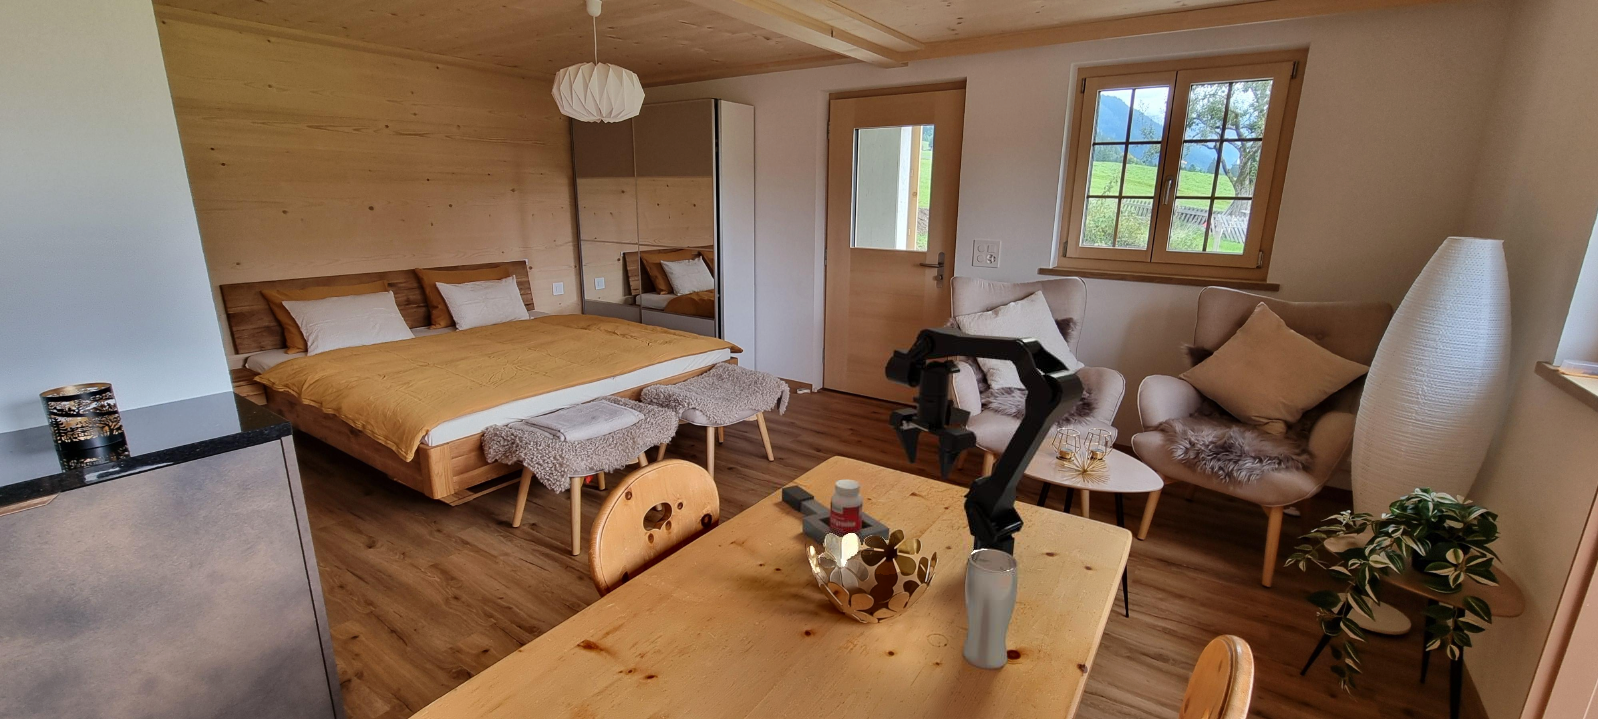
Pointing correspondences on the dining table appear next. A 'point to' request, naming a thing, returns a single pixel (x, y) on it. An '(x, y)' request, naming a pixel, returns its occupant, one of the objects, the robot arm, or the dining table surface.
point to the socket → (826, 517)
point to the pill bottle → (846, 507)
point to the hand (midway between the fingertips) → (928, 470)
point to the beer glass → (989, 606)
